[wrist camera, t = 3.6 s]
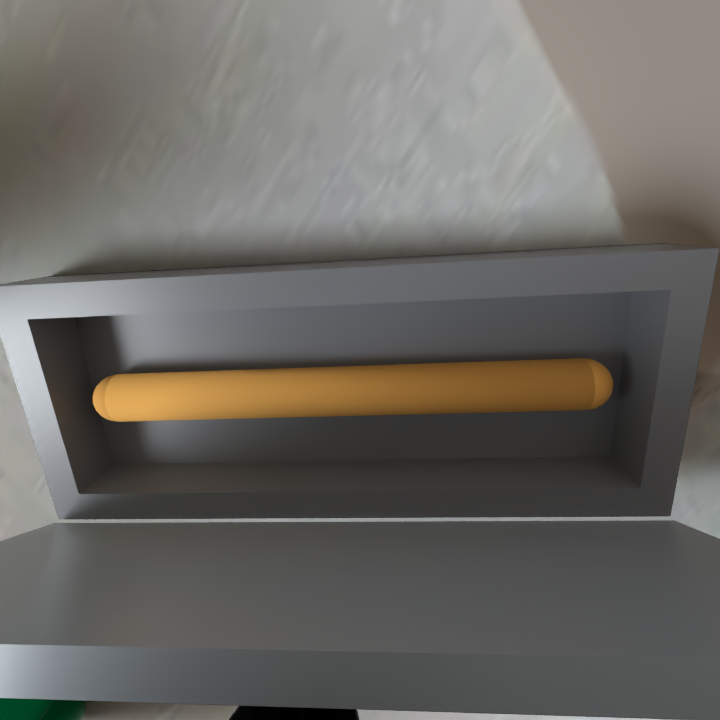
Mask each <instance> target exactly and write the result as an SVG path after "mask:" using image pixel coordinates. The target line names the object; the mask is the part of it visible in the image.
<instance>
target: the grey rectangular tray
mask: <svg viewBox="0 0 720 720" xmlns="http://www.w3.org/2000/svg"><path fill="white" fill-rule="evenodd" d="M718 254H719V248H712V247H701V246H690V245H678V244H666V243H653V244H636V245H635V244H634V245H616V246H598V247H579V248H561V249H543V250H524V251H506V252H487V253H469V254H451V255H432V256H414V257H396V258H377V259H359V260H341V261H322V262H304V263H285V264H267V265H249V266H230V267H212V268H194V269H175V270H157V271H139V272H120V273H102V274H84V275H65V276H48V277H42V278H36V279H30V280H24V281H18V282H12V283H6V284H0V336H1V339H2V342H3V345H4V348H5V351H6V354H7V358H8V361H9V364H10V367H11V370H12V373H13V377H14V380H15V383H16V386H17V389H18V392H19V396H20V399H21V402H22V405H23V408H24V411H25V414H26V418H27V421H28V424H29V427H30V430H31V433H32V437H33V440H34V443H35V446H36V449H37V452H38V455H39V459H40V462H41V465H42V468H43V471H44V474H45V478H46V481H47V484H48V487H49V490H50V493H51V497H52V500H53V503H54V506H55V509H56V512H57V515H58V519H223V518H424V517H624V516H670V515H671V509H672V504H673V499H674V493H675V488H676V482H677V477H678V471H679V466H680V460H681V455H682V450H683V444H684V439H685V433H686V428H687V422H688V417H689V412H690V406H691V401H692V395H693V390H694V384H695V379H696V374H697V368H698V363H699V357H700V351H701V346H702V341H703V335H704V330H705V324H706V319H707V314H708V308H709V302H710V298H711V292H712V287H713V281H714V275H715V270H716V264H717V260H718ZM572 358H587V359H592V360H595V361H597V362H599V363H601V364H602V365H604V366H605V367H606V368H607V370H608V371H609V372H610V374H611V377H612V380H613V390H612V393H611V395H610V397H609V399H608V400H607V401H606V402H605V403H604V404H603V405H601V406H599V407H598V408H595V409H591V410H573V411H532V412H491V413H451V414H410V415H369V416H328V417H288V418H247V419H206V420H165V421H125V422H118V421H111V420H108V419H105V418H104V417H102V416H101V415H100V414H99V413H98V412H97V411H96V409H95V407H94V405H93V393H94V390H95V388H96V386H97V385H98V384H99V383H100V382H101V381H102V380H103V379H105V378H106V377H109V376H111V375H115V374H133V373H162V372H191V371H221V370H250V369H279V368H309V367H338V366H367V365H397V364H426V363H455V362H484V361H514V360H543V359H572Z"/></svg>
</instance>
